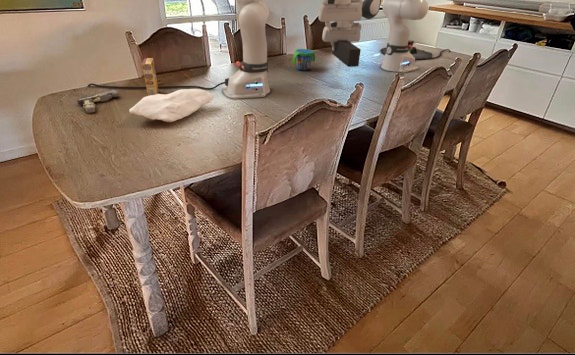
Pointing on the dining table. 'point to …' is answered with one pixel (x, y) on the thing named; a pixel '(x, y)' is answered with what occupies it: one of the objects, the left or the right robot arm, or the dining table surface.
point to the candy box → (150, 76)
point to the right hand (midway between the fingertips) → (339, 50)
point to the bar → (347, 53)
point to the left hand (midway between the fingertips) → (339, 31)
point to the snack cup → (303, 58)
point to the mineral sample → (414, 51)
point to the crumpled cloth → (171, 104)
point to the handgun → (95, 100)
